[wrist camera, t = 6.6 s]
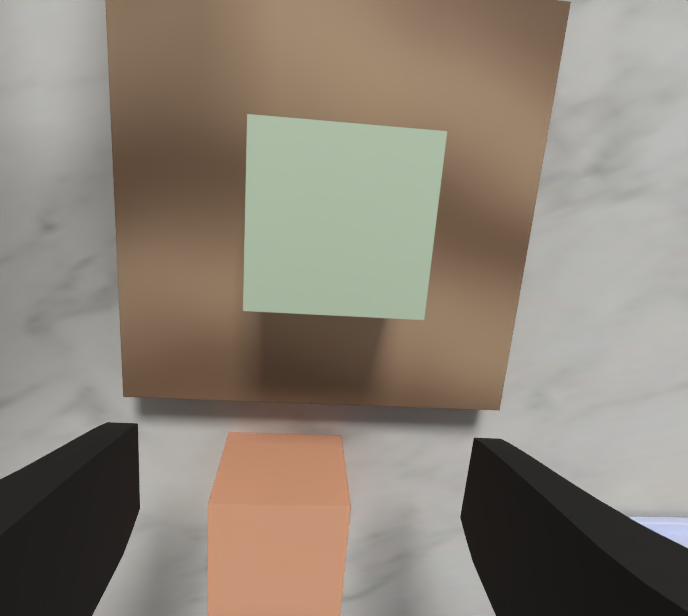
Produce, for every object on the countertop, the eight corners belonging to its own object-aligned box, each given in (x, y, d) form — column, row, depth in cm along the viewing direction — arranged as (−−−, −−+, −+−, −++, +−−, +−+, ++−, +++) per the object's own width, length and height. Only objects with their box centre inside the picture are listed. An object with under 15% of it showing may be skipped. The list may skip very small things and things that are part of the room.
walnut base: (483, 390, 18) (499, 410, 16) (139, 377, 17) (123, 396, 15) (544, 18, 15) (570, 1, 13) (124, -29, 14) (103, -52, 12)
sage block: (393, 281, 15) (424, 320, 11) (259, 273, 15) (243, 311, 11) (407, 141, 14) (447, 131, 10) (264, 129, 14) (247, 113, 10)
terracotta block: (332, 527, 19) (340, 618, 15) (227, 525, 19) (207, 618, 15) (341, 434, 18) (350, 506, 14) (229, 431, 18) (208, 503, 14)
